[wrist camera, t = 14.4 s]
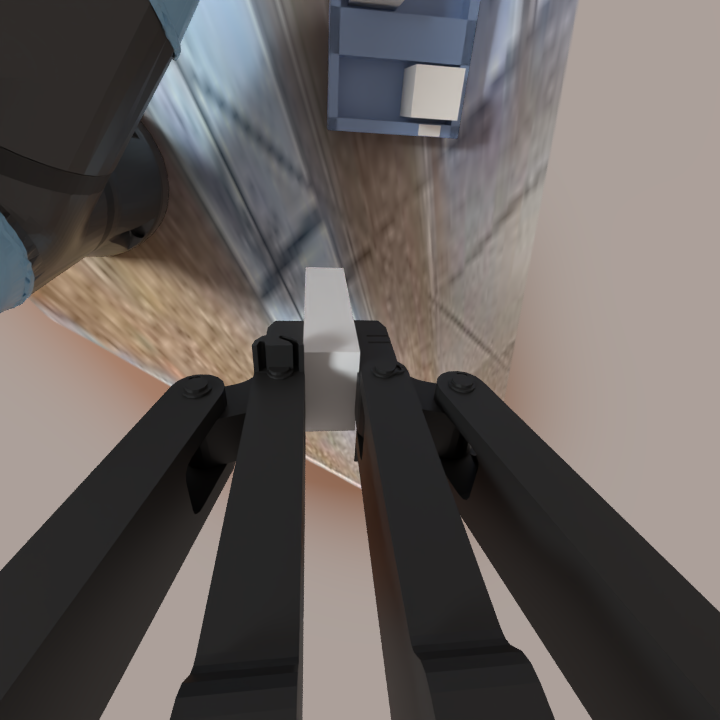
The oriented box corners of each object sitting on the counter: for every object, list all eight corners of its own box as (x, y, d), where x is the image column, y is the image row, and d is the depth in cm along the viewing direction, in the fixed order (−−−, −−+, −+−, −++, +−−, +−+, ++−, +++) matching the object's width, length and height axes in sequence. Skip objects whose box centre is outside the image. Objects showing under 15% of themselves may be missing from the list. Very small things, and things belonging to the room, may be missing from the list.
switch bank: (327, 128, 39) (328, 130, 36) (330, -79, 32) (332, -97, 29) (447, 136, 40) (458, 138, 37) (478, -60, 33) (493, -75, 30)
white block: (399, 115, 38) (410, 117, 34) (404, 68, 36) (416, 63, 32) (441, 119, 38) (457, 120, 34) (447, 72, 36) (465, 68, 32)
